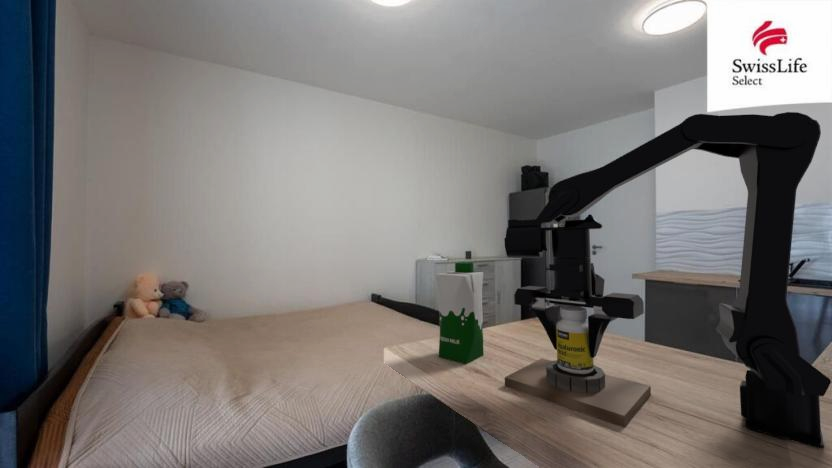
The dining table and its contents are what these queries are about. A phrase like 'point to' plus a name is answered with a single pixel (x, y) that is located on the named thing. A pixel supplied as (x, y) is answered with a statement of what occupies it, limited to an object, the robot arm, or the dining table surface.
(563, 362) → the supplement bottle
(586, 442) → the dining table surface
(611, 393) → the socket board
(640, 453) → the dining table surface
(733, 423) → the dining table surface
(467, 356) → the milk carton
